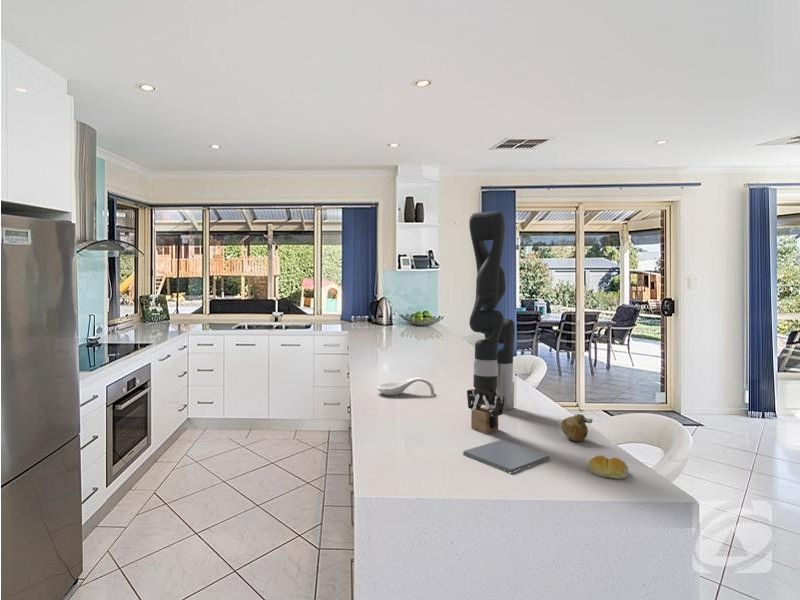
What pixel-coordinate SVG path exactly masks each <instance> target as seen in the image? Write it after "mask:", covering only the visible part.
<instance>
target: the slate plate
mask: <svg viewBox="0 0 800 600" xmlns="http://www.w3.org/2000/svg"><path fill="white" fill-rule="evenodd" d="M462 453H463V454H462V455H463V456H466V457H468V458H471V459H473V460H476V461H478V462H481V463H484V464H485V465H488V466H491V467H493V466H494V468H496V467H497V468H496V469H498V468H500V469H499V470H501V469H502V471H503V470H505V471H504V472H506V471H508V472H511V473H510V474H513V473H512V472H514V471H516V470H519V469H522V468H524V469H526V468H525V467H527V468H529V467H528V466H530V467H532V466H534V464H535V465H537V463H538V464H541V463H543V462H546V461H548V460H550V455H549V454H547V453H544V452H542V451H538V450H535V449H532V448H530V447H529V448H528V447H525V446H523V445H520V444H517V443H514V442H511V441H508V440H505V439H499V440H496V441H493V442H489V443H485V444H482V445H479V446H476V447H472V448H468V449H465V450H463V452H462ZM545 460H546V461H545ZM531 465H532V466H531ZM522 470H523V469H522ZM519 471H520V470H519ZM508 472H507V473H508ZM516 472H517V471H516ZM514 473H515V472H514Z"/></svg>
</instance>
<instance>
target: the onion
mask: <svg viewBox="0 0 800 600" xmlns="http://www.w3.org/2000/svg"><path fill="white" fill-rule="evenodd" d="M592 423H593V418H587V417H585V415H584V414H575V415H573V416H568V417H566V418H564V419H563V420H562V421H561V423H560V429H561V431H562V433H563V434H564V435H565V436H566V437H567V439H569V440H571V441H573V442H582V441H585V439H586V438H587V437H588V433H589V429H588V425H587V424H592Z"/></svg>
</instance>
